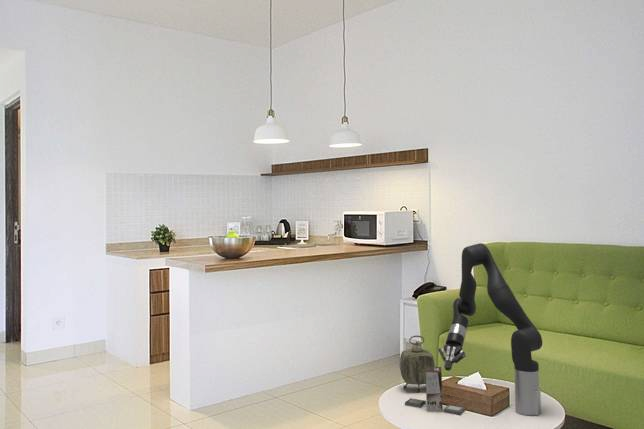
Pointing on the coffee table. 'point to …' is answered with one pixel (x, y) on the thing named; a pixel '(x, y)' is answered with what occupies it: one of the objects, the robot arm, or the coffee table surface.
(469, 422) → the coffee table surface
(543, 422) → the coffee table surface
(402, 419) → the coffee table surface
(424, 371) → the ring-handled stone jug
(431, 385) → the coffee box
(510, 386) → the coffee table surface
